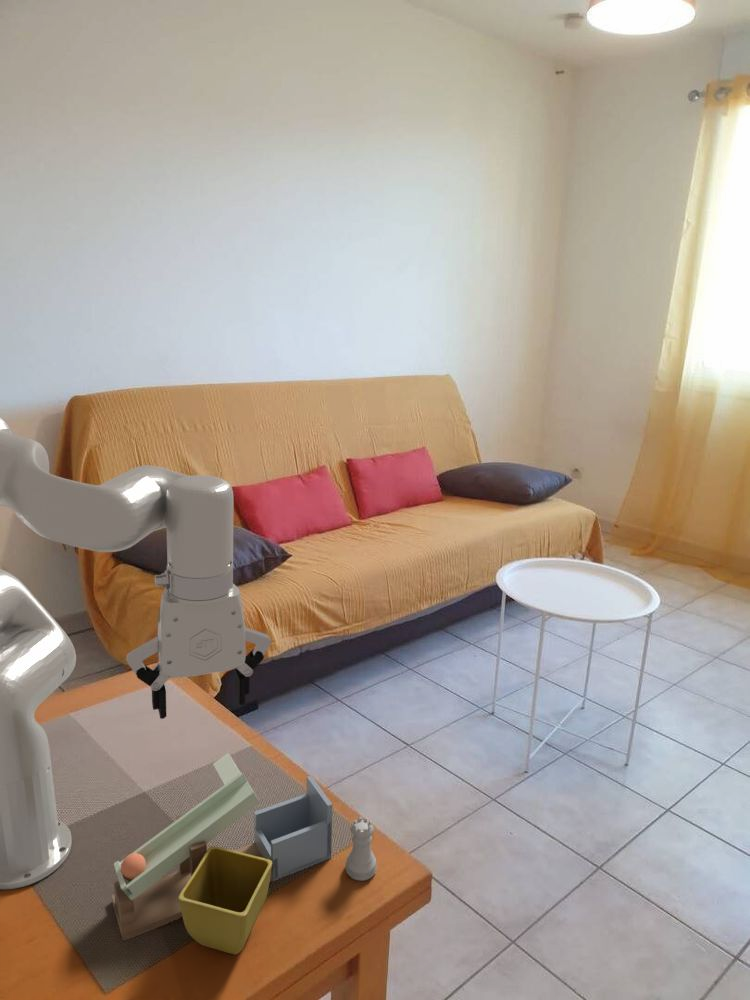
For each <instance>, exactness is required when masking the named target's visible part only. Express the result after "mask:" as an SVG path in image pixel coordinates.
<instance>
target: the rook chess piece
mask: <svg viewBox="0 0 750 1000" xmlns="http://www.w3.org/2000/svg"><path fill="white" fill-rule="evenodd" d="M350 832H351V834H352V836H351V838H352V839H351V840H352V842H353V845H352V849H351V850H350V852H349V854H348V856H347V858H346V860H345V861H346V862H345V871H346V874H347V875H348V876H349V877H350V878H351V879H353V880H355V881H357V882H358V881H359V882H361V881H362V882H364V881H368V880H369V879H371V878H373V876H375V874H376V873H377V869H378V867H377V859H376V857H375V854H374V852H373V851H372V846H371V845H372V844H371V843H372V841H373V836H372V835H373V834H374V832H375V828H374V825H373V823H372V820H369V819H368V817H364V819H362V817H361V816H360V817H358V818H357V819H354V821H353V824H352V825H351V827H350Z"/></svg>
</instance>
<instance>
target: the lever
mask: <svg viewBox="0 0 750 1000" xmlns="http://www.w3.org/2000/svg"><path fill="white" fill-rule="evenodd" d="M212 765H213V767H214V768H215V771H216V772H217V774H218V776H219V777H220V780H221V781H222V783H223V785H222V786H221V787H219V788H218V789H217V790H216V791H214V792H213V793H211V794H210V795H208V796H207V797H206V798H205V799H203V800H201V801H200V802H198V804H197V805H195V806H193V808H192V807H191V809H189V810H188V811H187V812H186V813H183V814H184V815H183V814H182V815H183V816H181V817H180V818H179V819H177V818H176V820H175V821H173V822H172V823H171V824H169V825H168V826H166V827H165V828H164V829H163V830H161V831H160V832H158V833H157V834H156V835H154V836H153V837H152V838H150V839H149V840H148V841H146V842H145V843H143V844H142V845H141V846H140V847H138V848H137V849H135V850H134V851H133V852H131V853H130V854H132V853H138V854H141V855H142V856H143V857H144V858H145V861H146V868H145V871H144V872H143V873H141V874H140V875H139V876H137V877H136V878H135V879H133V880H131V879H127V878H125V877H124V876H123V874H122V871H121V865H122V862H123V860H124V859H125V858H123V859H122V860H120V861H119V860H117V861H115V862H114V863H113V866H114V870H115V873H116V876H117V881H118V880H119V883H120V887H121V889H122V891H123V892H124V893H125V894H126V895H127V896H128V897H129V898H130V899H131V901H132V900H133V899H135V898H136V897H137V896H139V895H140V894H141V893H142V892H144V891H145V890H146V889H148V888H149V887H150V886H152V885H153V884H154V883H156V882H157V881H158V880H160V879H161V878H162V877H163V876H166V875H168V874H170V872H171V871H173V870H174V869H175V868H177V866H179V864H181V863H182V862H183V861H184V860H186V859H187V858H188V857H190V848H189V846H192V845H194V844H197V843H200V842H203V841H205V842H206V845H207V844H208V843H210V842H211V841H213V840H214V839H215V838H217V836H219V835H220V834H221V833H222V832H224V831H225V830H226V829H228V828H230V827H231V826H232V825H233V824H235V823H236V822H237V821H239V820H240V819H241V818H243V816H246V814H247V813H249V812H250V811H252V810H253V809H254V808H255V807H257V806H258V805H260V804H261V801H260V800H259V798H258V796H257V794H256V793H255V791H254V789H253V787H252V786H251V785H250V783H249V781H248V780H247V779H246V777H245V775H244V774H243V773H242V772H241V771H240V769H239V768H238V766H237V764H236V763H235V761H234V760H233V758H232V756H231V755H230V753H229V752H227V753H226V754H224V755H223V756H222V757H220V758H219V759H218V760H216V761H215V762H214V763H212Z"/></svg>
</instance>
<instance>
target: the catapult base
mask: <svg viewBox="0 0 750 1000" xmlns="http://www.w3.org/2000/svg"><path fill="white" fill-rule="evenodd" d="M184 814H185V813H183V814H180V815H178V816H176V820H177V819H179V818H180V817H181V816H183V815H184ZM189 848H190V857H188V858H187V859H186V860H184V861H183V862H182V863H181V864H179V865H178V866H179V870H177V871H174V872H172V873H168V874H166V875H165V876H163V877H162V878H161V879H160V880H158V881H157V882H156V883H154V884H153V885H152V886H150V887H149V888H148V889H146V890H145V891H144V892H142V893H141V894H140V895H139V896H137V897H136V898H135V899H133V900H132V901H131V899H130V898H129V897H128V896H127V895H126V894H125V893H124V892H123V891H122V889H121V887H120V883H119V880H118V879H117V880H115V881H113V890H114V891H113V893H114V894H112V895H111V902H112V906H113V910H114V914H115V916H116V917H115V918H116V920H117V924H118V927H119V932H120V934H121V939H122V942H125V941H128V940H130V939H132V938H135V937H138V936H140V935H142V934H145V933H147V932H150V931H152V930H155V929H157V928H159V927H162V926H165V925H167V924H170V923H172V922H175V921H177V920H179V918H180V919H182V918H183V917H182V912H181V908H180V903H179V899H178V898H179V895H180V893H181V892H182V890H183V889H184V887H185V886H186V884H187V882H188V881H189V879H190V878H191V876H192V875H193V874H194V872H195V870H196V869H197V867H198V865H199V864H200V862H201V860H202V859H203V857H204V855H205V854H206V852H207V850H208V845H207V844H206V842H205V841H203V842H200V843H197V844H194V845H192V846H189ZM232 850H233V851H237V852H241V853H245V854H249V855H253V856H257V857H262V858H263V856H262V855H261V853H260V851H259V849H258V847H257V846H256V844H255V842H252V843H250V844H247V845H245V846H242V847H239V848H236V849H232ZM271 882H274V881H273V875H272V873H271V875H270V882H269V883H271ZM181 917H182V918H181ZM174 920H175V921H174ZM169 922H170V923H169Z"/></svg>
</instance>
